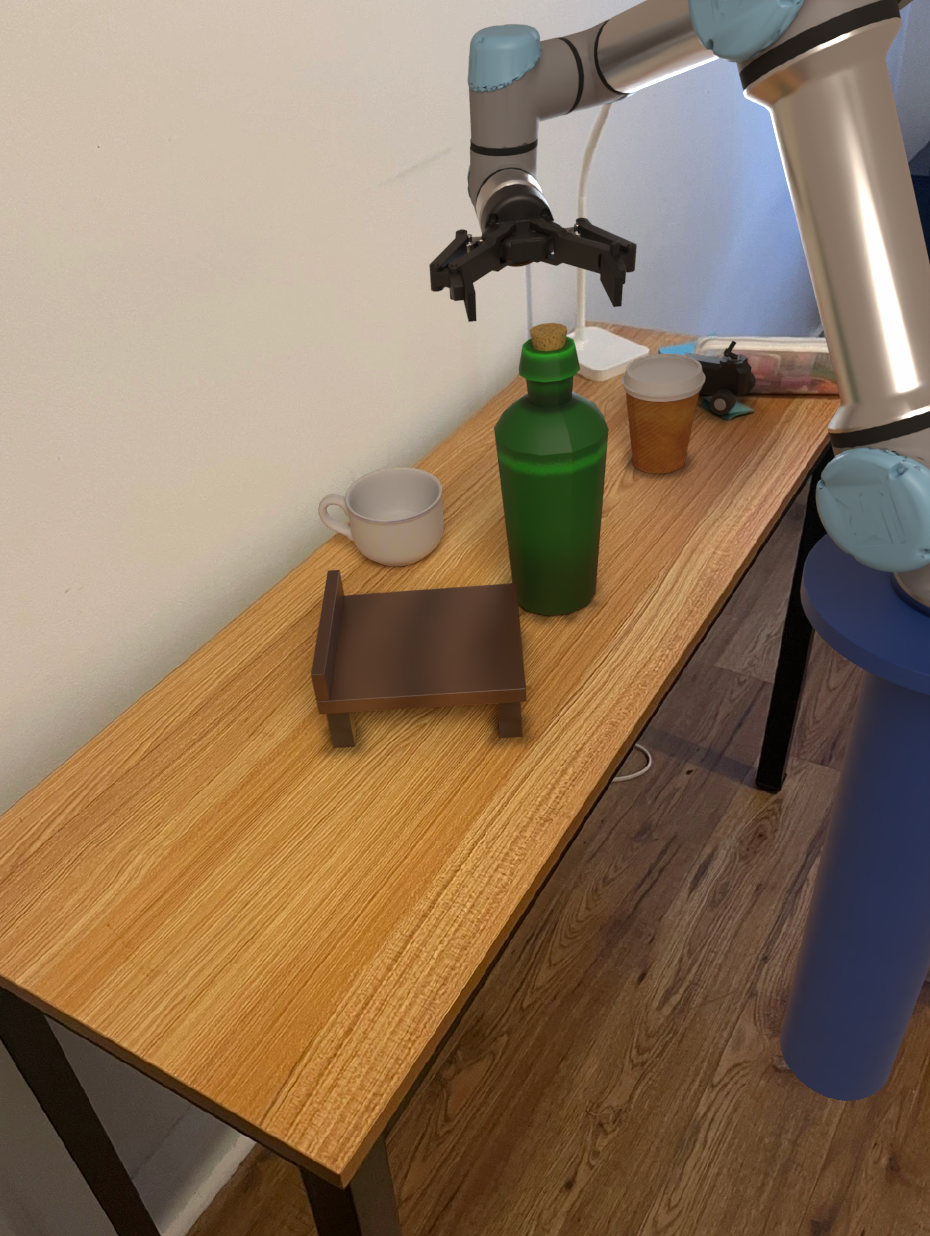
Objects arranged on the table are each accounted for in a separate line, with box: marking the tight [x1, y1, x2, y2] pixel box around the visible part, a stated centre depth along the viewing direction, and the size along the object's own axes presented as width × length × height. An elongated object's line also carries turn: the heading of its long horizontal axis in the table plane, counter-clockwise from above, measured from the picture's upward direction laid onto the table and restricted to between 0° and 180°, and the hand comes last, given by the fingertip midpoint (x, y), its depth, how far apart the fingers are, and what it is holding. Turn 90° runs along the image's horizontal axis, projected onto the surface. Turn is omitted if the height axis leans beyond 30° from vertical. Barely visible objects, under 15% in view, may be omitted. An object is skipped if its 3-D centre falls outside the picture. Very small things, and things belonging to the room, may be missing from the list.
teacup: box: [317, 466, 445, 568], centre depth 114 cm, size 14×11×8 cm
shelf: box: [310, 569, 528, 749], centre depth 94 cm, size 18×16×9 cm
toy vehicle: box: [683, 340, 757, 416], centre depth 135 cm, size 8×15×9 cm, turn 53°
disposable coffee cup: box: [621, 353, 705, 475], centre depth 122 cm, size 10×10×12 cm
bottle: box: [493, 322, 609, 616], centre depth 98 cm, size 11×11×28 cm
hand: (545, 300), depth 94 cm, fingers open, 13 cm apart
